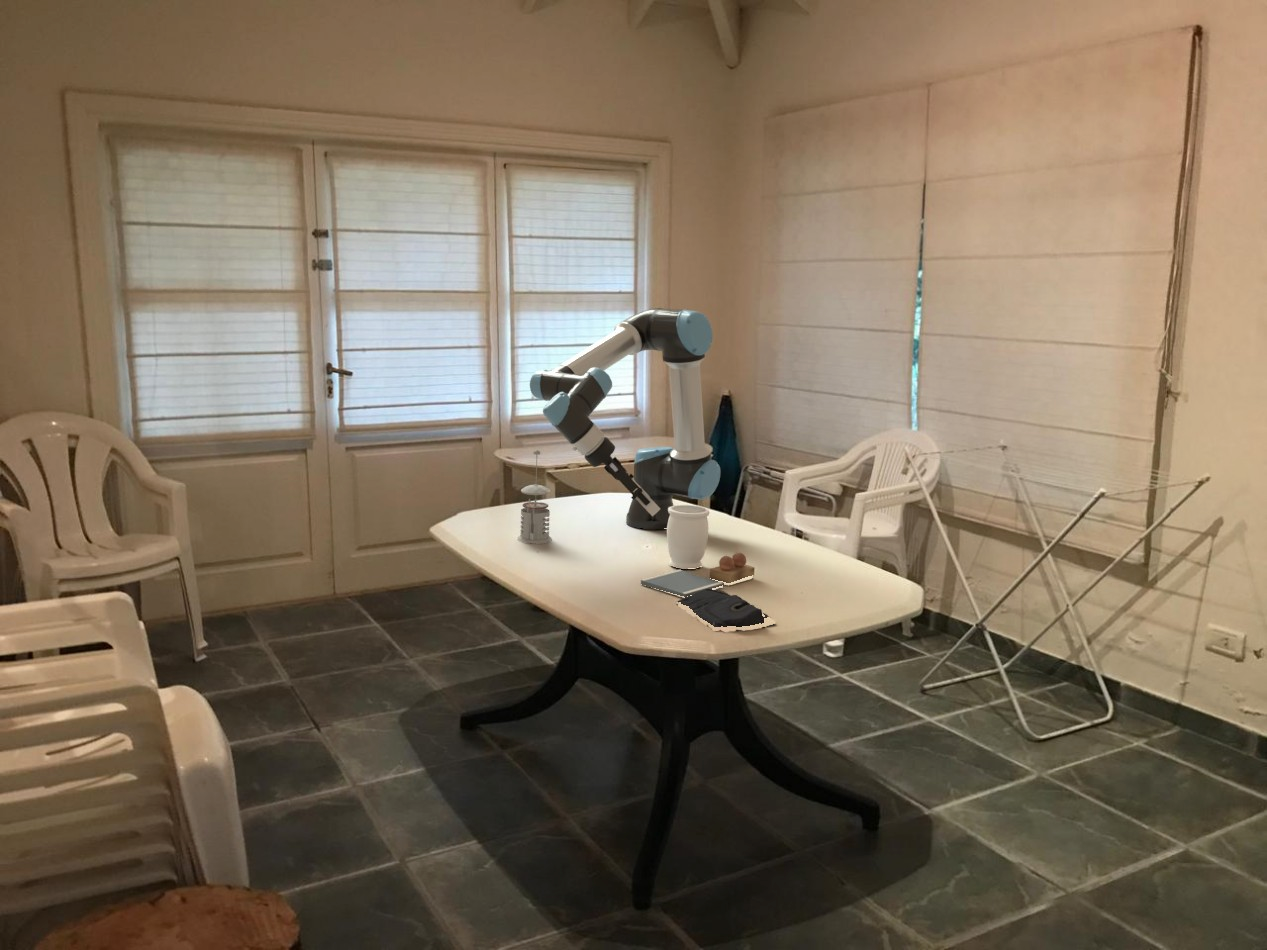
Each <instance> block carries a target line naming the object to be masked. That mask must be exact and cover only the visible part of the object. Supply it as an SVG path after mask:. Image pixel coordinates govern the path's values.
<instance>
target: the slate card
mask: <svg viewBox="0 0 1267 950" xmlns="http://www.w3.org/2000/svg"><path fill="white" fill-rule="evenodd" d="M641 584H642V585H641ZM640 585H641V586H643V585H646V586H649V587H652V588H656V589H659V590H663V591H666V592H670V593H673V594H677V595H680V596H684V597H687V596H690V595H693V594H695V593H697V592H699V591H702V590H704V589H712V588H716V587H719V586H722V585H724V583H723V582H718V581H715V580H712V579H710V578H707V577H704V576H702V575H698V574H695V573H692V572H688V571H686V570H681V569H676V570H672V571H669V572H665V573H664V572H663V573H661V574H658V575H653V576H649V577H647V578H646V577H645V578H641V580H640ZM646 586H645V587H646ZM724 586H725V585H724ZM649 587H648V588H649ZM652 588H651V589H652Z"/></svg>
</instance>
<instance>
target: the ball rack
mask: <svg viewBox="0 0 1267 950" xmlns="http://www.w3.org/2000/svg"><path fill="white" fill-rule="evenodd" d="M718 565H719V566H716V567H712V568H710V569H709V579H710V578H711V579H715V580H718V581H723V582H726V583H731V582H734V581H737V580H740V579H742V578H745V577H748V576H752V575H754V576H755V566H752V565H748V564H747V556H746V555H745V554H744V553H742V552H736V553H734V554H733V555H732V556H729V555H724V556H722V557H721V558H720V559H719V561H718Z"/></svg>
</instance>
